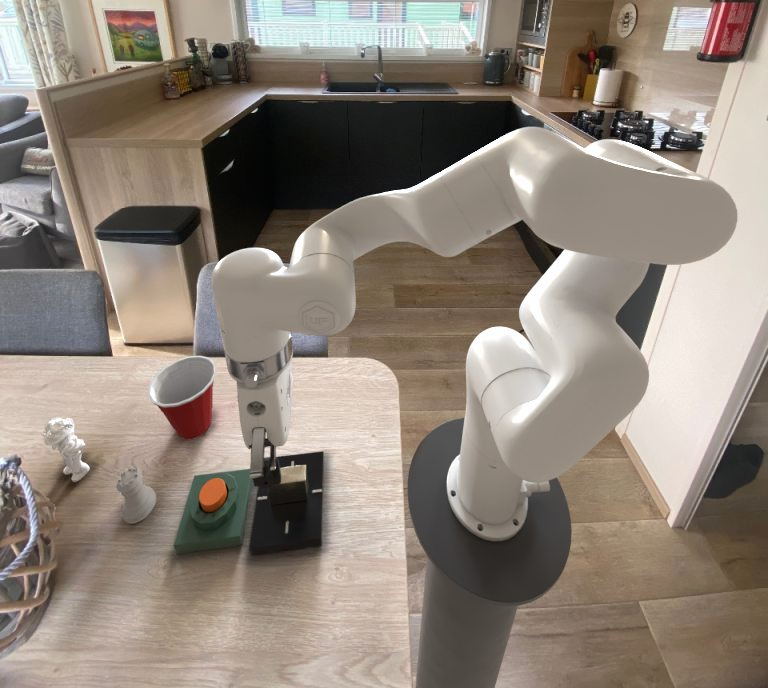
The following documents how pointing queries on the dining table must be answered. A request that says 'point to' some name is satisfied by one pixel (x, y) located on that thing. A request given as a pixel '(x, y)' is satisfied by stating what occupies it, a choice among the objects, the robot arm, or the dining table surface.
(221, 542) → the button block
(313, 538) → the panel
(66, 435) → the hat wearing toy figure
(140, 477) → the rook chess piece
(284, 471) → the knob
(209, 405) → the plastic cup
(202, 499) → the button
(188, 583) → the dining table surface
